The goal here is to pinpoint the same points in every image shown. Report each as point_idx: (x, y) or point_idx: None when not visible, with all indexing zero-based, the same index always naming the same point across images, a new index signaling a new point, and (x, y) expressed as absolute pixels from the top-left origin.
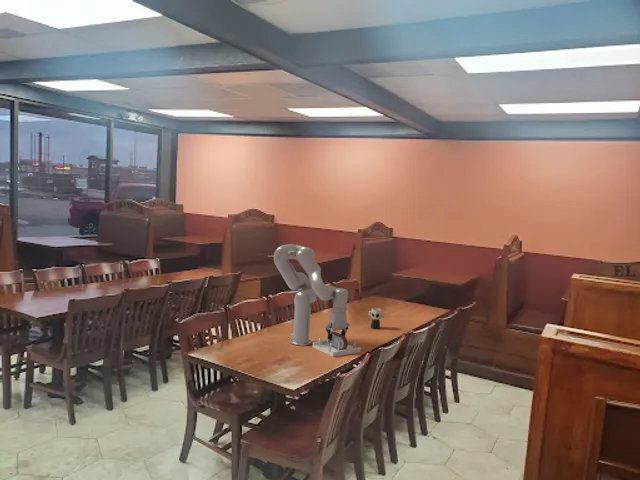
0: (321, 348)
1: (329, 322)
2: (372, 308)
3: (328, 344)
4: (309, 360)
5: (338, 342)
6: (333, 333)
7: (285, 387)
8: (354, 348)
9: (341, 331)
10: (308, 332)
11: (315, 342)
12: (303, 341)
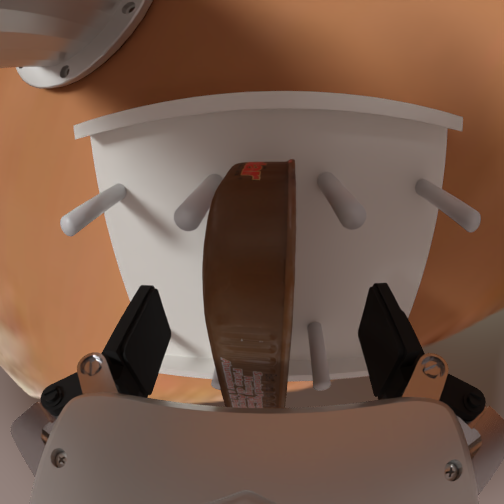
0: (120, 236)
1: (44, 501)
2: None
3: (251, 153)
4: (43, 322)
5: (213, 384)
6: (212, 350)
7: (16, 383)
8: (341, 376)
9: (397, 356)
10: (19, 31)
11: (94, 132)
12: (41, 65)
